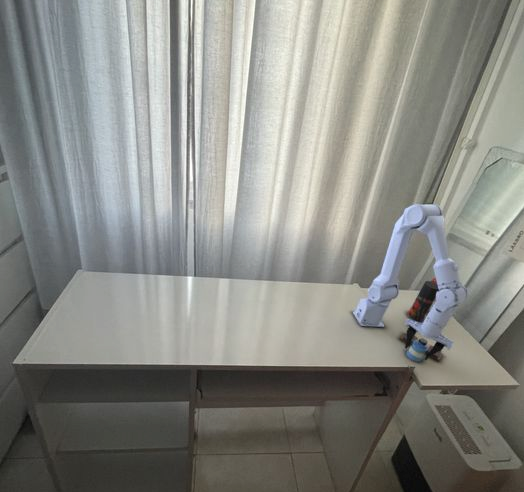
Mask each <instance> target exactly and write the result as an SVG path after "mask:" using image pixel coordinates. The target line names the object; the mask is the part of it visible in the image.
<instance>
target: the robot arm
mask: <svg viewBox="0 0 524 492" xmlns="http://www.w3.org/2000/svg"><path fill="white" fill-rule="evenodd" d="M416 231H418V232H420V233H422V234H423V235H425V236H427V238H428V241H429V243H430V247H431V251H432V253H433V256H434V259H435V263H434V264H433V267H432V269H433V272H434V277H435V278H436V281H437V285H439V286H438V288H439V291H437V293H436V302H435V304H434V305H433V307H432V308H431V310H430V311H428V312H427V314H426V316H425V317H424V319H423V321H422V322H418V321H415V320H412V319H411V318H407V319H406V320H405V322H404V325H403V326H405V327H408V328H407V329H406V332H405V333H406V334H407V341H406V343H405V346H404V348H405V349H407V350H408V349H409V347H410V343H411V341H412V339H413V337H414V336H415V335H416V334H417V332H418V333H419V334H421V335H422V336H423V337H425V338H426V339H429V340H433V341H434V342H435V343H434V345H432V346H433V348H432V349H431V350H430V352H429V353H428V354H427V355H425V356H424V360H425V361H427V360H428V359H429V358H431V357H430V356H432V355H433V354H435V353H437V352H439V351H441V352H442V351H443V349H444V347H445V349H447V350H449V351H450V349H451V348H452V347H453V345H454V341H452V340H450V339H449V338H447V337H446V336H445V335H443V334H442V332H443V331H444V329H445V327H446V326H447V324H448V322H449V321H450V320H451V318H452V317H453V316H454V313H455V311H456V310H457V308H458V307H459V305H460V304H462V303H464V302H465V301H467V299H468V289H467V288H466V287H465V285H463V283H462V282H461V279H460V275H459V271H458V270H460V267H459V265H458V264H456V261H454V260H453V259H451V258H450V255H449V254H450V253H449V249H448V241H447V238H446V232H445V217H444V215H443V210H442V208H441V206H440V205H438V204H434V203H433V204H432V203H431V204H419V203H415V204H412V205H410V206H408V207H406V208H404V211H403V214H402V215H401V216H400V217H399V218H398V220H397V221H396V222H395V224H394V228H393V230H392V234H391V237H390V242H389V244H388V246H387V251H386V254H385V257H384V261H383V264H382V267H381V270H380V274H379V275H378V276H376V277H375V278H374V279H373V281H372V283H371V285H370V286H369V287H368V289H367V297H365V298H361V299H359V302H358V303H357V306H356V308H355V309H354V311H353V312H352V314H353V316H354V317H355V319H356V321H357V322H358V323H359V325H360V327H373V328H377V327H378V328H384V327H385V324H384V323H383V321H382V320H383V318H384V316H385V314H386V312H387V310H388V308H389V307H390V303H391V302H392V300H395V299H396V298H398V296H399V294H400V289H399V285H400V281H399V279H398V276H399V273H400V269H401V267H402V264H403V260H404V259H405V254H406V251H407V249H408V245H409V243H410V239H411V236H412V233H414V232H416Z"/></svg>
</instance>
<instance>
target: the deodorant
mask: <svg viewBox="0 0 524 492" xmlns="http://www.w3.org/2000/svg"><path fill="white" fill-rule="evenodd" d="M438 286H439V285H437V284H436V283H434V282H431V280H426V281H424V283H423V285H422V286H421V288H420V290H419V292H418V294H417V296H416V297H415V299H414V301H413V303H412V305H411V307H410V308H409V310H408V312H407V317H408V319H411V320H413V321H416V322H418V323H422V322H423V321H424V320H425V318H426V316H427V315H428V313H429V311H428V310H429V308H430V307H431V305H432V303H433V302H434V300H435V298H436V293H437V291H439V288H438Z"/></svg>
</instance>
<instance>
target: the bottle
mask: <svg viewBox="0 0 524 492" xmlns="http://www.w3.org/2000/svg"><path fill="white" fill-rule="evenodd" d="M427 343H428V341H427V339H425V338H422V337H420V338H419V340H414V341H413V342H412V344H411V346H410V345H409V346H408V348H407V351H406V357H408V358H409V359H410V360H412V361H413V362H417V363H418V362H422V360H424V358H425V357H426V353H427V351H428V349H429V347H428V345H427ZM428 344H429V343H428Z"/></svg>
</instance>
